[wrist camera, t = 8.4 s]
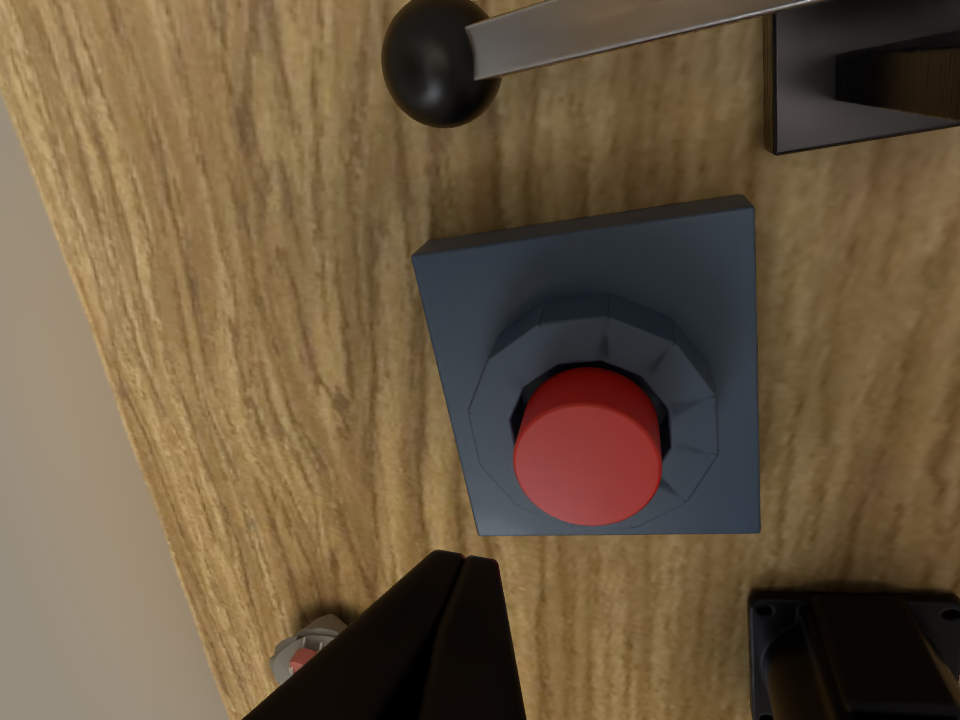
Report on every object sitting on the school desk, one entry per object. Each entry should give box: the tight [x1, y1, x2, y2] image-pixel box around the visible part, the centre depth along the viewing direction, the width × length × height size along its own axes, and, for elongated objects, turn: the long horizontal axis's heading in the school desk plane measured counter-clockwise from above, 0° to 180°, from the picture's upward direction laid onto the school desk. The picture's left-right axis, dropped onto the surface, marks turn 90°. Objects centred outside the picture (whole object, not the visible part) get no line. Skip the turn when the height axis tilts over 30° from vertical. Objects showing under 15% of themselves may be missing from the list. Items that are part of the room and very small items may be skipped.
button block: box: [411, 194, 761, 536], centre depth 18 cm, size 10×9×4 cm
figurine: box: [270, 614, 347, 685], centre depth 25 cm, size 5×4×6 cm
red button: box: [513, 367, 662, 526], centre depth 16 cm, size 4×4×2 cm
